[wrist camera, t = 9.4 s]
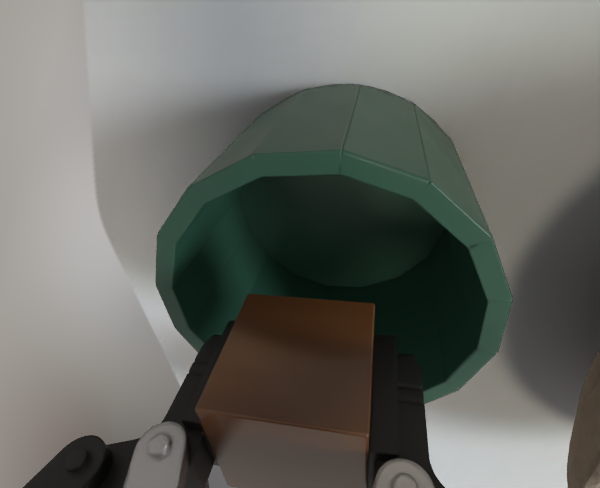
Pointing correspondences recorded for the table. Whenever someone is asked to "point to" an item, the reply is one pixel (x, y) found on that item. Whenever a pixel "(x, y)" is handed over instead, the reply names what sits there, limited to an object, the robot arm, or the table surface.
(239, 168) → the tin
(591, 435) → the bowl
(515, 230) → the table surface
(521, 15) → the table surface
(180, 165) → the table surface
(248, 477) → the block
